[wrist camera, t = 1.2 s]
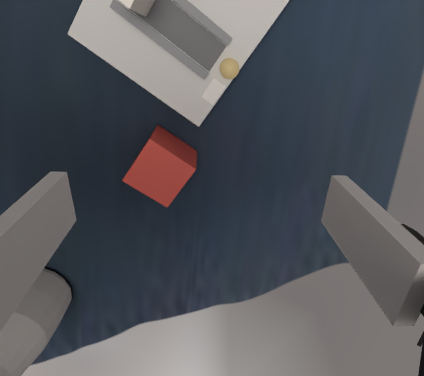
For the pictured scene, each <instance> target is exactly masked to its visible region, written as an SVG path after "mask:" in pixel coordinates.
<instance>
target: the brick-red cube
mask: <svg viewBox="0 0 424 376" xmlns="http://www.w3.org/2000/svg"><path fill="white" fill-rule="evenodd" d="M196 164H197V151H196V150H194V149H193V148H192V147H190V146H189V145H187V144H186V143H184V142H183V141H181V140H180V139H178V138H177V137H175V136H174V135H172V134H171V133H169V132H168V131H166V130H165V129H164V128H162V127H161V126H159V125H157V127H156V128H155V130H154V131H153V133H152V135H151V136H150V138H149V139H148V141H147V142H146V144H145V145H144V147H143V148H142V150H141V151H140V153H139V154H138V156H137V157H136V159H135V160H134V162H133V164H132V165H131V167H130V169H129V170H128V172H127V174H126V175H125V177H124V179H123V180H122V181H123V182H125V183H127V184H128V185H130V186H132V187H133V188H135V189H137V190H138V191H140V192H142V193H143V194H145V195H147V196H149V197H150V198H152V199H154V200H155V201H157V202H159V203H160V204H162V205H164V206H165V207H168V206H169V205H170V203H171V202H172V201H173V199H174V198H175V197H176V195H177V194H178V193H179V191H180V190H181V189H182V187H183V186H184V185H185V183H186V182H187V181H188V180H189V178H190V177H191V176H192V174H193V173H194V172H195V170H196Z"/></svg>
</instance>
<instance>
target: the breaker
mask: <svg viewBox="0 0 424 376" xmlns="http://www.w3.org/2000/svg"><path fill="white" fill-rule="evenodd" d="M119 1H120V2H121V3H123V4H124V5H125V6H126V7H128V8H129V9H131V10H133V11H135V12H137V13H139V14H141V15H143V16H145V17H146V16H147V14H148V12H149V11H150V9H151V7H152V5H153V3H154V2H155V0H119Z"/></svg>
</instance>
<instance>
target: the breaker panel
mask: <svg viewBox="0 0 424 376" xmlns="http://www.w3.org/2000/svg"><path fill="white" fill-rule="evenodd" d="M288 2H289V0H155V2H154V3H153V5H152V7H151V9H150V11H149V12H148V14H147V16H146V17H145V16H143V15H141V14H139V13H137V12H135V11H133V10H131V9H129V8H128V7H126V6H125V5H124V4H123V3H121V2H120V1H119V0H83V1H82V4H81V6H80V8H79V10H78V12H77V14H76V16H75V19H74V21H73V23H72V25H71V27H70V29H69V32H68V35H70V36H71V37H72V38H74V39H75V40H77V41H78V42H79V43H81V44H82V45H84V46H85V47H87V48H88V49H89V50H91V51H92V52H94V53H95V54H96V55H98V56H99V57H101V58H102V59H103V60H105V61H106V62H108V63H109V64H111V65H112V66H113V67H115V68H116V69H118V70H119V71H120V72H122V73H123V74H125V75H126V76H127V77H129V78H130V79H132V80H133V81H135V82H136V83H137V84H139V85H140V86H142V87H143V88H144V89H146V90H147V91H149V92H150V93H152V94H153V95H154V96H156V97H157V98H159V99H160V100H161V101H163V102H164V103H166V104H167V105H168V106H170V107H171V108H173V109H174V110H176V111H177V112H178V113H180V114H181V115H183V116H184V117H185V118H187V119H188V120H190V121H191V122H192V123H194V124H195V125H197V126H198V127H199V126H200V125H201V123H202V122H203V120H204V119H205V118H206V116H207V115H208V113H209V112H210V111H211V109H212V108H213V106H214V105H215V104H216V102H217V101H218V99H219V98H220V97H221V95H222V94H223V92H224V91H225V90H226V88H227V87H228V85H229V84H230V83H231V81H232V80H233V78H235V77H236V76H237V75H238V73H239V70H240V69H241V67H242V66H243V65H244V63H245V62H246V60H247V59H248V58H249V56H250V55H251V53H252V52H253V51H254V49H255V48H256V46H257V45H258V44H259V42H260V41H261V39H262V38H263V37H264V35H265V34H266V32H267V31H268V30H269V28H270V27H271V25H272V24H273V23H274V21H275V20H276V18H277V17H278V16H279V14H280V13H281V11H282V10H283V9H284V7H285V6H286V4H287V3H288Z"/></svg>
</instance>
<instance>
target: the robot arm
mask: <svg viewBox="0 0 424 376" xmlns="http://www.w3.org/2000/svg"><path fill="white" fill-rule="evenodd" d="M75 222H76V215H75V210H74V205H73V200H72V196H71V191H70V186H69V181H68V176H67V172H49V173H48V174H47V175H46V176H45V177H44V178H43V179H42V180H40V181H39V182H38V183H37V184H36V185H35V186H34V187H32V188H31V189H30V190H29V191H28V192H27V193H26V194H24V195H23V196H22V197H21V198H20V199H19V200H18V201H16V202H15V203H14V204H13V205H12V206H11V207H10V208H8V209H7V210H6V211H5V212H4V213H3V214H2V215H0V332H1V330H2V329H3V327H4V326H5V324H6V323H7V321H8V320H9V318H10V317H11V316H12V314H13V313H14V311H15V310H16V308H17V307H18V305H19V304H20V302H21V301H22V299H23V298H24V296H25V295H26V294H27V292H28V291H29V289H30V288H31V286H32V285H33V283H34V282H35V280H36V279H37V277H38V276H39V274H40V273H41V272H42V270H43V269H44V267H45V266H46V264H47V263H48V261H49V260H50V258H51V257H52V255H53V254H54V252H55V251H56V250H57V248H58V247H59V245H60V244H61V242H62V241H63V239H64V238H65V236H66V235H67V233H68V232H69V230H70V229H71V228H72V226H73V225H74V223H75ZM321 222H322V224H323V225H324V227H325V228H326V229H327V231H328V232H329V234H330V235H331V237H332V238H333V240H334V241H335V242H336V244H337V245H338V247H339V248H340V250H341V251H342V253H343V254H344V256H345V257H346V258H347V260H348V261H349V263H350V264H351V266H352V267H353V269H354V270H355V272H356V273H357V274H358V276H359V277H360V279H361V280H362V282H363V283H364V285H365V286H366V287H367V289H368V290H369V292H370V293H371V295H372V296H373V298H374V299H375V301H376V302H377V303H378V305H379V306H380V308H381V309H382V311H383V312H384V314H385V315H386V317H387V318H388V319H389V321H390V322H391V324H392V325H393V326H414V325H415V323H416V321H417V319H418V317H419V315H420V313H421V314H422V315H423V316H424V237H423V236H421V235H420V234H419V233H418V232H417V231H415V230H414V229H412V228H410V227H408V226H406V225H404V224H400V223H399V222H398V221H396V220H395V219H394V218H393V217H392V216H391V215H390V214H389V213H388V212H386V211H385V210H384V209H383V208H382V207H381V206H380V205H379V204H378V203H376V202H375V201H374V200H373V199H372V198H371V197H370V196H369V195H367V194H366V193H365V192H364V191H363V190H362V189H361V188H360V187H359V186H357V185H356V184H355V183H354V182H353V181H352V180H351V179H350V178H348V177H347V176H334V175H332V177H331V181H330V185H329V189H328V194H327V198H326V202H325V206H324V211H323V215H322V219H321ZM422 344H423V345H422ZM417 345H418V346H421V345H422V352H421V360H420V367H419V375H418V376H424V332H423V334H422V336H421V338H420V340H419V342H418V344H417Z"/></svg>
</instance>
